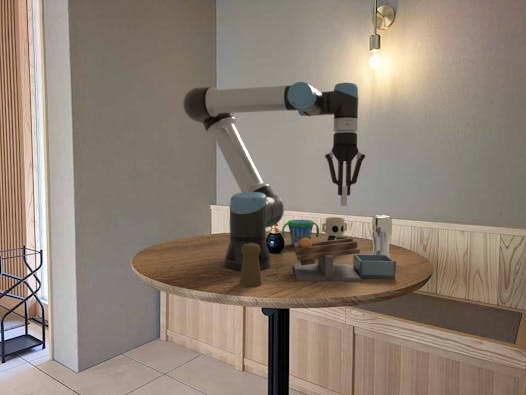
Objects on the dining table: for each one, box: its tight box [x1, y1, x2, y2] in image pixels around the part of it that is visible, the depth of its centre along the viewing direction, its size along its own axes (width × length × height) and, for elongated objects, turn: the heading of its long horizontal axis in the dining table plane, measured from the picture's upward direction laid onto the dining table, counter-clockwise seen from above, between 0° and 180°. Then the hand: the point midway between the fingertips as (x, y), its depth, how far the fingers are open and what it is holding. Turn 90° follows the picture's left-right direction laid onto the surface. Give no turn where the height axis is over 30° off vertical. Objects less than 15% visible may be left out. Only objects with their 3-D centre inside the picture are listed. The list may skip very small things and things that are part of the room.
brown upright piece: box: [239, 243, 262, 287], centre depth 108 cm, size 6×6×11 cm
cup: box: [352, 253, 397, 280], centre depth 119 cm, size 10×9×5 cm
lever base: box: [293, 255, 362, 282], centre depth 119 cm, size 18×16×7 cm
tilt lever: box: [293, 235, 361, 265], centre depth 123 cm, size 18×20×6 cm
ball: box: [299, 238, 313, 248], centre depth 119 cm, size 4×4×4 cm
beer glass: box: [371, 215, 393, 258], centre depth 141 cm, size 7×7×15 cm
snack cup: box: [281, 219, 320, 247], centre depth 163 cm, size 16×10×10 cm
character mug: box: [321, 216, 348, 241], centre depth 151 cm, size 11×7×13 cm, turn 111°
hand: (343, 205), depth 129 cm, fingers closed
